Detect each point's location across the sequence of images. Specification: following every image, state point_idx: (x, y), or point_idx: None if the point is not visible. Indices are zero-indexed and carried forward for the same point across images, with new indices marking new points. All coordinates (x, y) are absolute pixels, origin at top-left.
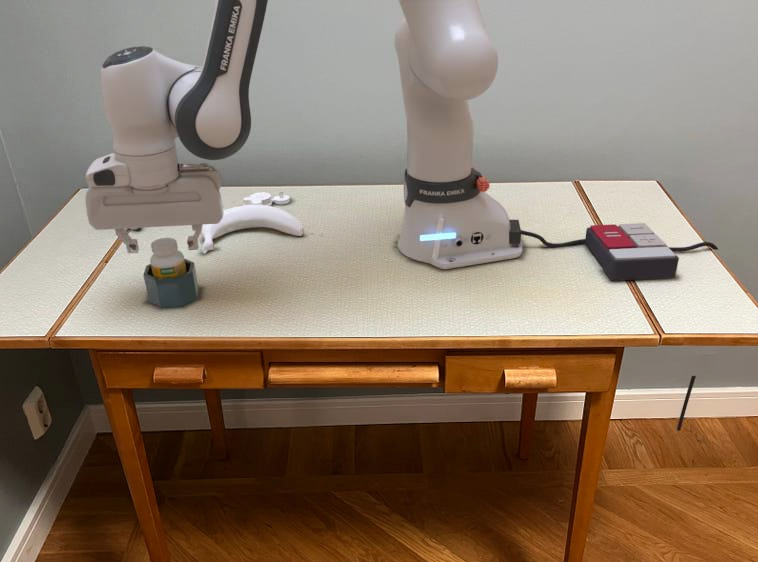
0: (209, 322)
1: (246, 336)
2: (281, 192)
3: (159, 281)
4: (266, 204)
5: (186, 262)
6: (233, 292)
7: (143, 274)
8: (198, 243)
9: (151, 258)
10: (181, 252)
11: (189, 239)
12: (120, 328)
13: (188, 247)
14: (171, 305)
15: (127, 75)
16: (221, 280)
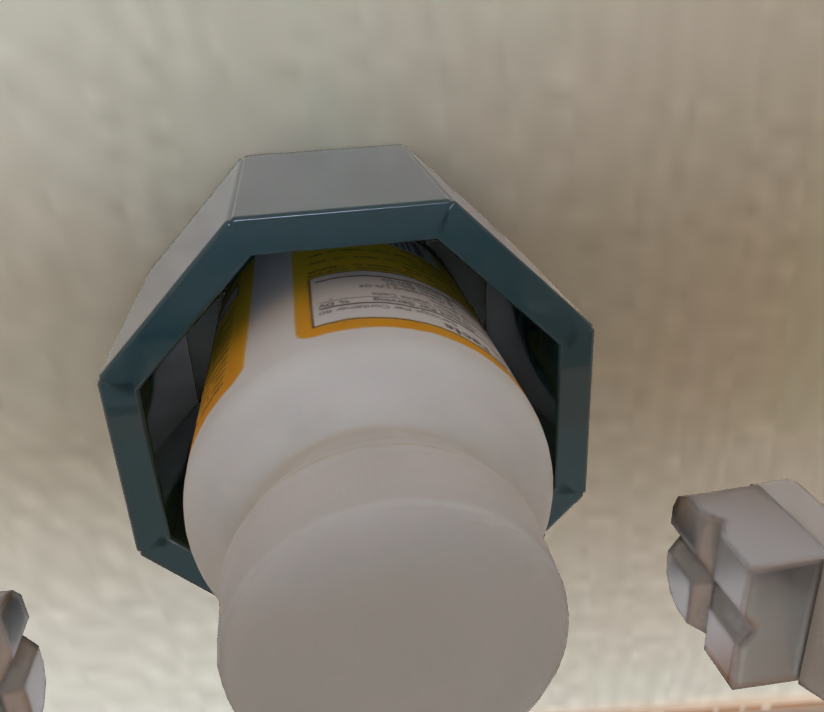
0: (597, 610)
1: (768, 701)
2: None
3: None
4: None
5: (511, 302)
6: (748, 294)
7: (135, 542)
8: (800, 487)
9: (216, 588)
10: (534, 435)
11: (764, 650)
12: (94, 684)
13: (689, 619)
14: None
15: None
16: (676, 103)
